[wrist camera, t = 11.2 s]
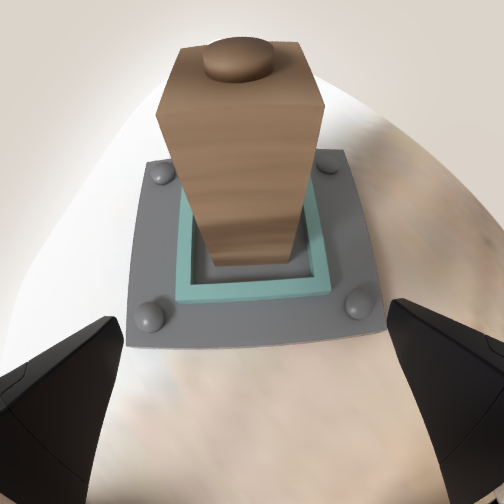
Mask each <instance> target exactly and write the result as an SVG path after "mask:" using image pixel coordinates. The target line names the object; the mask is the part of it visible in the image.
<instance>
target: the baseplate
mask: <svg viewBox="0 0 504 504" xmlns="http://www.w3.org/2000/svg"><path fill="white" fill-rule="evenodd" d="M386 330H387V327H386V320H385V314H384V307H383V301H382V295H381V290H380V284H379V279H378V274H377V269H376V264H375V260H374V255H373V251H372V246H371V242H370V238H369V234H368V230H367V226H366V222H365V218H364V214H363V211H362V207H361V204H360V200H359V197H358V193H357V190H356V187H355V183H354V180H353V177H352V174H351V171H350V168H349V165H348V162H347V159H346V156H345V153H344V150H329V149H316V151H315V155H314V160H313V164H312V168H311V173H310V177H309V181H308V186H307V190H306V194H305V198H304V202H303V206H302V210H301V214H300V218H299V222H298V226H297V230H296V234H295V238H294V242H293V246H292V250H291V254H290V257H289V261H288V264H272V265H248V266H222V267H215V266H214V263H213V261H212V259H211V256H210V254H209V251H208V249H207V247H206V244H205V242H204V239H203V237H202V235H201V232H200V230H199V227H198V225H197V222H196V220H195V218H194V215H193V213H192V210H191V208H190V205H189V203H188V200H187V198H186V195H185V192H184V190H183V187H182V185H181V182H180V180H179V177H178V174H177V172H176V169H175V167H174V164H173V161H172V159H166V160H159V161H152V162H147V164H146V168H145V173H144V178H143V183H142V188H141V194H140V199H139V205H138V211H137V217H136V224H135V231H134V238H133V246H132V254H131V263H130V274H129V285H128V300H127V319H126V346H127V347H132V348H146V349H232V348H252V347H268V346H281V345H292V344H302V343H311V342H320V341H328V340H336V339H343V338H350V337H357V336H363V335H369V334H375V333H380V332H383V331H386Z"/></svg>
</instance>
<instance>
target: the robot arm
mask: <svg viewBox="0 0 504 504" xmlns="http://www.w3.org/2000/svg"><path fill="white" fill-rule="evenodd" d="M387 328H388V331H389V334H390V337H391V340H392V342H393V345H394V348H395V351H396V354H397V357H398V360H399V363H400V365H401V368H402V370H403V372H404V374H405V377H406V379H407V381H408V384H409V386H410V388H411V391H412V393H413V395H414V398H415V400H416V403H417V405H418V408H419V410H420V413H421V415H422V418H423V420H424V423H425V426H426V428H427V431H428V434H429V436H430V439H431V442H432V445H433V448H434V451H435V454H436V457H437V460H438V463H439V466H440V470H441V473H442V476H443V479H444V483H445V486H446V490H447V493H448V497H449V501H450V504H474V503H476V502H477V501H479V500H480V499H482V498H483V497H485V496H486V495H488V494H489V493H491V492H492V491H493V492H494V494H495V497H496V498H495V499H493V500H492V501H491V502H489V503H488V504H504V342H501V341H499V340H497V339H494V338H492V337H490V336H488V335H484V334H483V333H481V332H479V331H477V330H475V329H472V328H470V327H468V326H466V325H463V324H461V323H459V322H457V321H454V320H452V319H450V318H448V317H445V316H443V315H441V314H439V313H436V312H434V311H432V310H430V309H427V308H425V307H423V306H420V305H418V304H416V303H414V302H411V301H409V300H407V299H404V298H399V299H394V300H392V301H391V303H390V308H389V312H388V317H387ZM123 344H124V338H123V334H122V331H121V329H120V326H119V323H118V321H117V319H116V318H115V317H114V316H104V317H102V318H100V319H98V320H97V321H95V322H93V323H92V324H90V325H88V326H86V327H85V328H83V329H81V330H80V331H78V332H76V333H75V334H73V335H71V336H69V337H68V338H66V339H64V340H63V341H61V342H59V343H58V344H56V345H54V346H53V347H51V348H49V349H48V350H46V351H44V352H43V353H41V354H39V355H38V356H36V357H34V358H33V359H31V360H29V362H26V363H24V364H23V365H21V366H19V367H18V368H16V369H14V370H13V371H11V372H9V373H7V374H5V375H4V376H2V377H0V504H85V503H86V497H87V492H88V485H89V480H90V475H91V470H92V466H93V461H94V457H95V452H96V448H97V444H98V440H99V436H100V432H101V428H102V425H103V421H104V417H105V414H106V410H107V407H108V403H109V400H110V397H111V393H112V390H113V387H114V383H115V380H116V376H117V371H118V366H119V362H120V357H121V352H122V348H123Z"/></svg>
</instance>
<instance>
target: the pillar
mask: <svg viewBox="0 0 504 504" xmlns="http://www.w3.org/2000/svg"><path fill="white" fill-rule="evenodd" d="M324 108H325V104H324V102H323V99H322V97H321V94H320V91H319V89H318V86H317V84H316V81H315V79H314V77H313V74H312V72H311V69H310V67H309V65H308V63H307V60H306V58H305V56H304V53H303V51H302V49H301V47H300V45H299V43H298V42H267V41H265V40H262V39H259V38H253V37H234V38H226V39H222V40H219V41H216V42H213V43H211V44H209V45H203V46H195V47H189V48H182V49H180V52H179V54H178V57H177V59H176V61H175V64H174V66H173V68H172V71H171V73H170V76H169V79H168V81H167V84H166V87H165V89H164V92H163V95H162V98H161V100H160V103H159V106H158V109H157V112H156V117H157V120H158V123H159V126H160V129H161V131H162V134H163V137H164V140H165V142H166V145H167V148H168V151H169V153H170V156H171V159H172V161H173V164H174V167H175V169H176V172H177V174H178V177H179V180H180V182H181V185H182V187H183V190H184V192H185V195H186V198H187V200H188V203H189V205H190V208H191V210H192V213H193V215H194V218H195V220H196V222H197V225H198V227H199V230H200V232H201V235H202V237H203V239H204V242H205V244H206V247H207V249H208V251H209V254H210V256H211V259H212V261H213V263H214V266H215V267H222V266H248V265H272V264H288V261H289V257H290V254H291V250H292V246H293V242H294V238H295V234H296V230H297V226H298V222H299V218H300V214H301V210H302V206H303V202H304V198H305V194H306V190H307V186H308V181H309V177H310V173H311V168H312V164H313V160H314V155H315V151H316V146H317V141H318V137H319V132H320V127H321V123H322V118H323V113H324Z"/></svg>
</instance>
